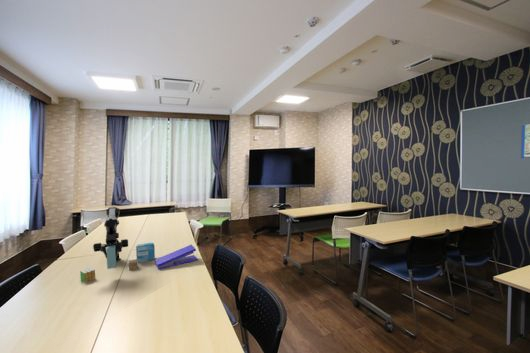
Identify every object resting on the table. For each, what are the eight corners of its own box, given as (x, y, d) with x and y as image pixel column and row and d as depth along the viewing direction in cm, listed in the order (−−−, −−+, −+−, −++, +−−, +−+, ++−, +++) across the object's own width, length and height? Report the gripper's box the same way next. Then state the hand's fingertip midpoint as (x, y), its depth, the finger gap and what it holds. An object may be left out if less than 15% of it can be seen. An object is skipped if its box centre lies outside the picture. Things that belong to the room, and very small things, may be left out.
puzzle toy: (84, 282, 147) (84, 273, 146) (80, 280, 150) (80, 271, 149) (95, 278, 152) (94, 269, 151) (91, 276, 155) (90, 267, 154)
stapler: (198, 261, 178) (198, 247, 178) (157, 270, 163) (157, 256, 162) (193, 256, 188) (193, 243, 187) (154, 264, 172) (154, 251, 172)
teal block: (107, 266, 153) (107, 246, 152) (116, 264, 155) (115, 245, 154) (107, 269, 149) (106, 248, 148) (115, 267, 151) (115, 247, 151)
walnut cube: (129, 267, 167) (128, 260, 167) (137, 266, 170) (137, 259, 170) (129, 270, 163) (129, 263, 163) (137, 268, 166) (137, 261, 165)
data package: (136, 262, 175) (136, 246, 175) (136, 260, 179) (136, 244, 179) (154, 259, 181) (154, 243, 181) (154, 257, 185) (153, 242, 185)
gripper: (92, 231, 150) (91, 254, 141) (127, 227, 159) (128, 248, 150) (94, 240, 157) (93, 262, 148) (127, 235, 166) (128, 256, 157)
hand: (111, 257), depth 150 cm, fingers closed on teal block, 4 cm apart
